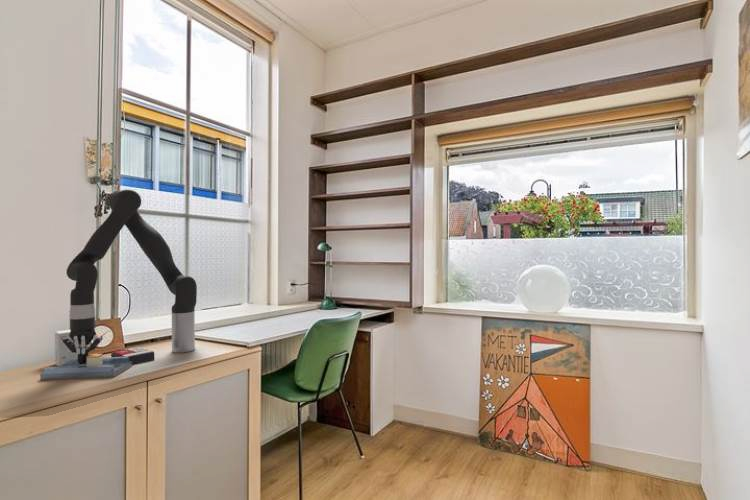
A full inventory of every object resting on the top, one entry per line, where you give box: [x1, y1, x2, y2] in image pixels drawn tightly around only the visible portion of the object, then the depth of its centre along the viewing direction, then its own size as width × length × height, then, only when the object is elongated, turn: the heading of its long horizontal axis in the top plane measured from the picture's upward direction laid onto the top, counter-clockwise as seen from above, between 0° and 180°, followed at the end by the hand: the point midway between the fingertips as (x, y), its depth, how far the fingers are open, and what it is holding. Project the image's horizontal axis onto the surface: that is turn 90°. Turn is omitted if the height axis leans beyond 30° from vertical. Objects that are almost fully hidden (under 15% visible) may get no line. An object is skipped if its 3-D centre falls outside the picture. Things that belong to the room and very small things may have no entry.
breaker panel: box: [39, 356, 133, 381], centre depth 146 cm, size 13×24×4 cm, turn 96°
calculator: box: [110, 346, 155, 366], centre depth 163 cm, size 11×4×15 cm
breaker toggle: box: [87, 353, 104, 366], centre depth 146 cm, size 4×4×4 cm
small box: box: [54, 329, 78, 367], centre depth 158 cm, size 8×6×13 cm
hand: (83, 363), depth 146 cm, fingers closed
